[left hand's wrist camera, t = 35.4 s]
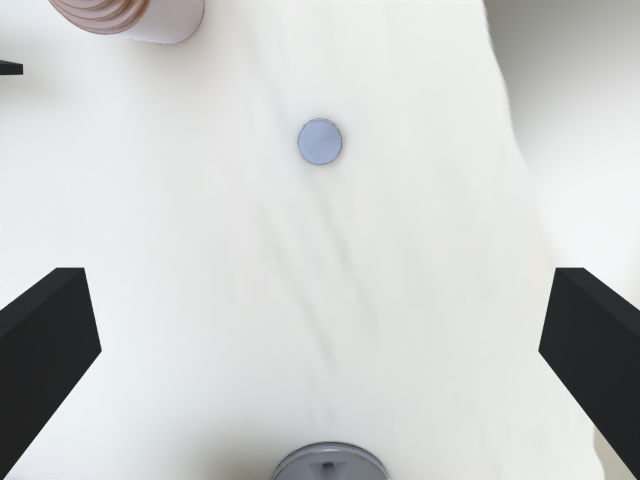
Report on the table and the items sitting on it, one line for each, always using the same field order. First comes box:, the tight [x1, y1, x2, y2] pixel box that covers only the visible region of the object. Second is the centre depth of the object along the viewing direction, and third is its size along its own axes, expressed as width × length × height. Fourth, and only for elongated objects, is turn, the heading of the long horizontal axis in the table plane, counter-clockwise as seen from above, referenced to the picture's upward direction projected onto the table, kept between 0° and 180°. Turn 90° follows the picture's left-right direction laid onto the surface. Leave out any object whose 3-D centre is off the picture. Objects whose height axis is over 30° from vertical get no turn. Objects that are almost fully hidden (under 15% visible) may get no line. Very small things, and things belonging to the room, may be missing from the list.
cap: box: [298, 118, 342, 165], centre depth 41 cm, size 4×4×2 cm
